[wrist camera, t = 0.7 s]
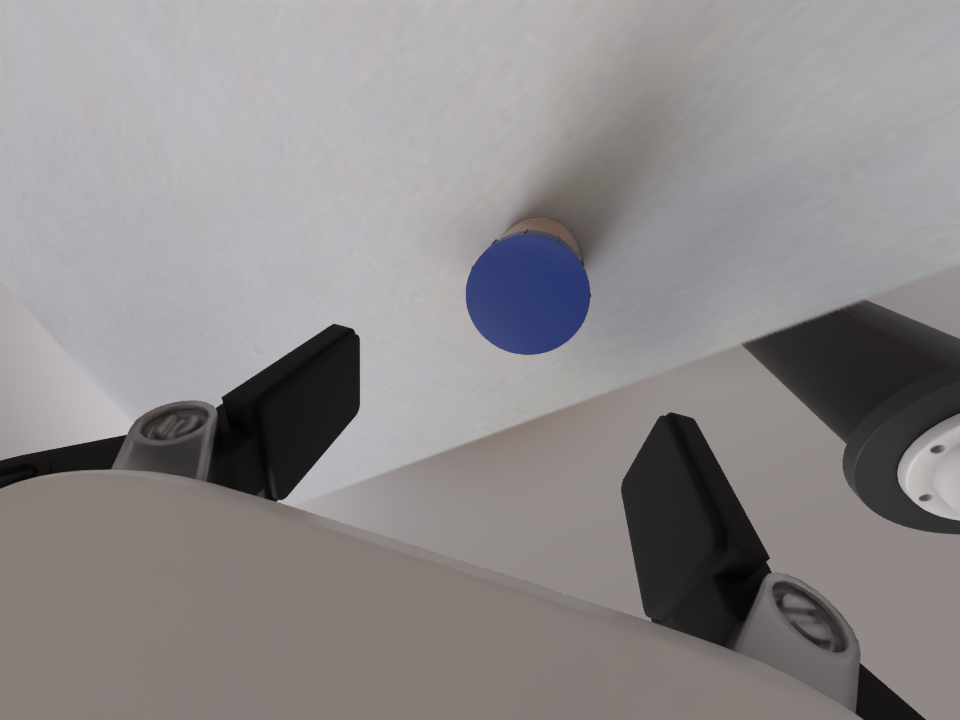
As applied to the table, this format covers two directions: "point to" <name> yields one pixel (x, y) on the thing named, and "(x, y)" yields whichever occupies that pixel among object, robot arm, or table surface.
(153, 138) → the table surface
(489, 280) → the jar lid
